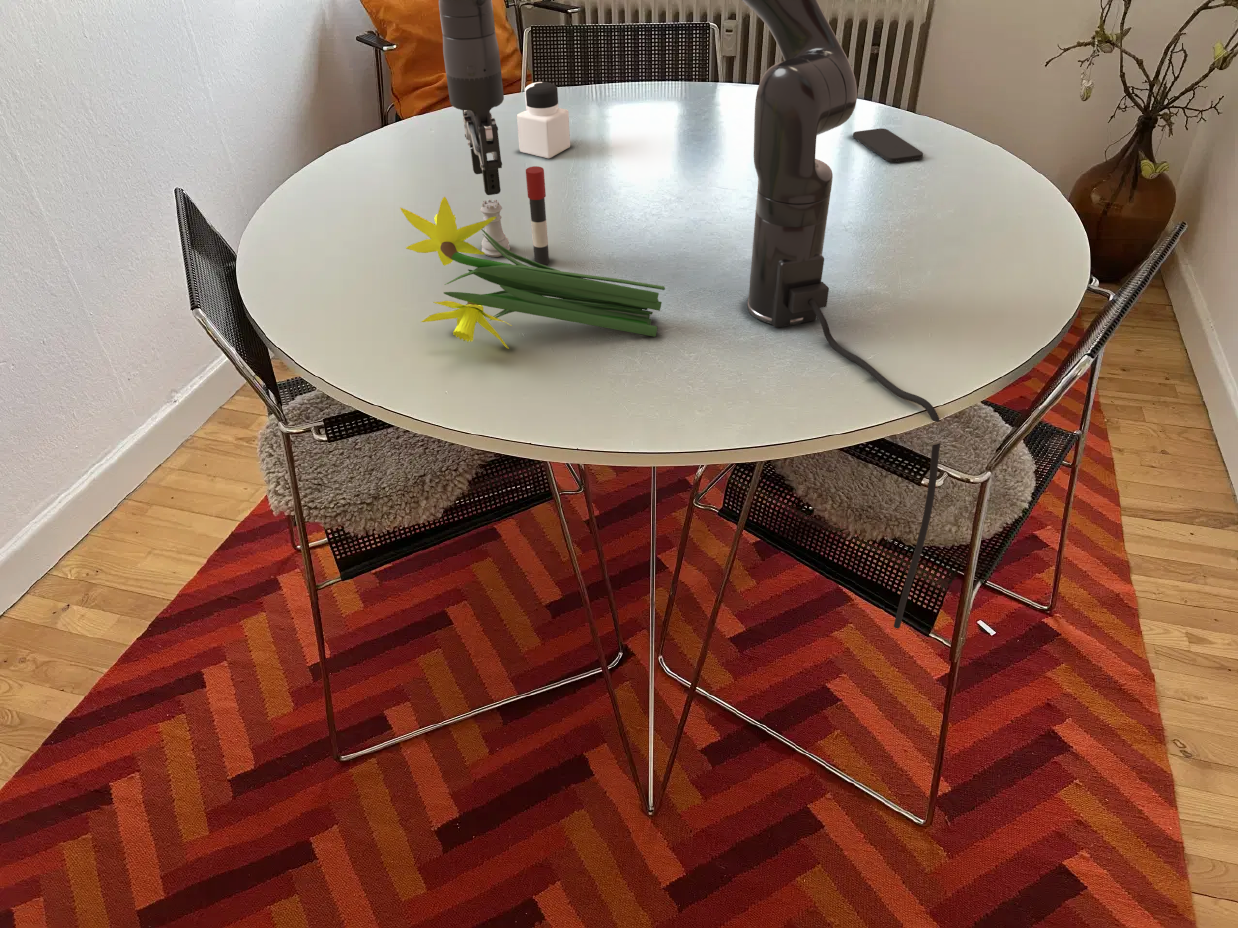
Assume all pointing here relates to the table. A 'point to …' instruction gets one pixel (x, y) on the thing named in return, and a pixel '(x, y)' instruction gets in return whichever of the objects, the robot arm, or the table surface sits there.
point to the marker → (538, 213)
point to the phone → (887, 145)
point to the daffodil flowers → (529, 285)
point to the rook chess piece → (493, 228)
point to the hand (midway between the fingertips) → (486, 183)
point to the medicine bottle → (543, 122)
